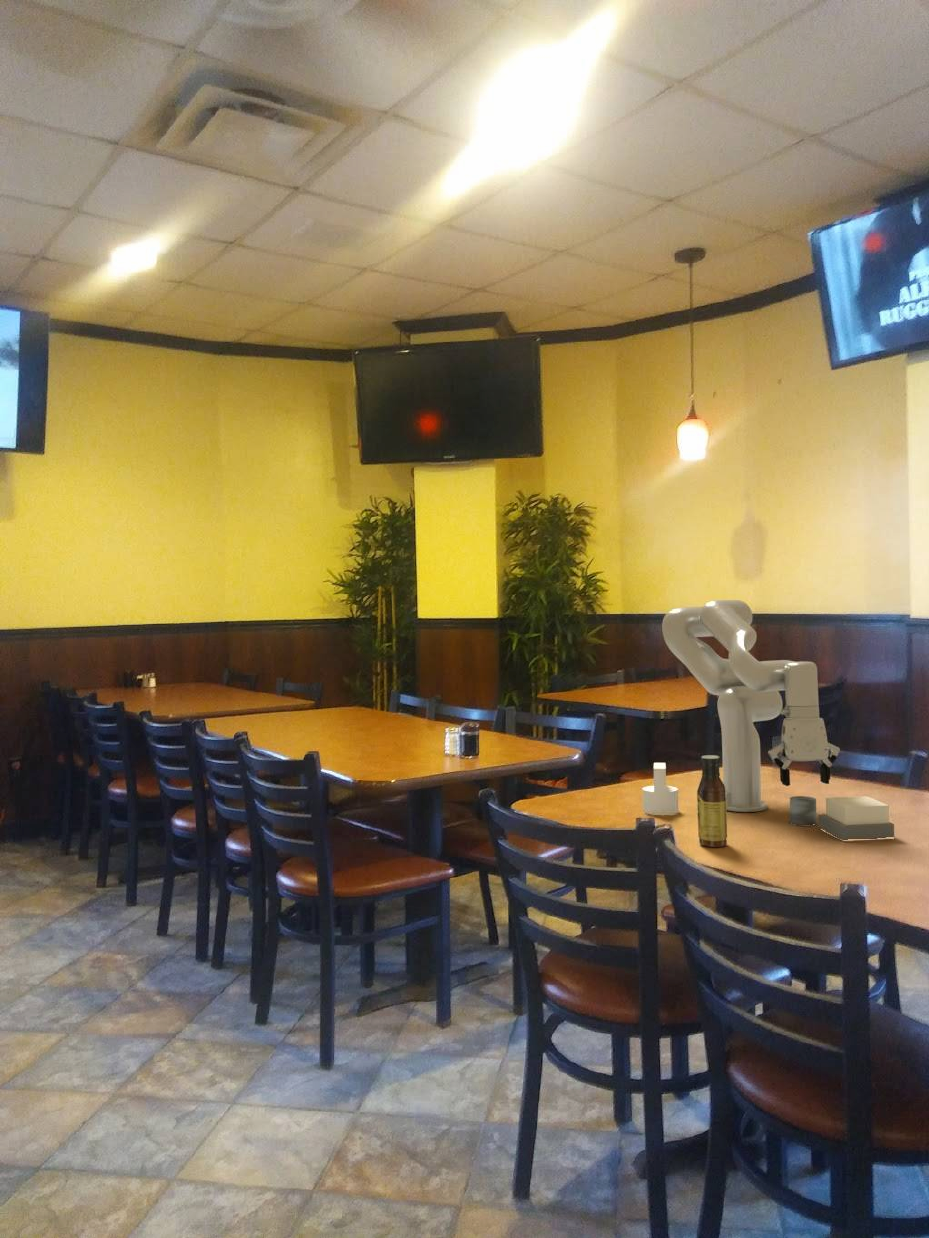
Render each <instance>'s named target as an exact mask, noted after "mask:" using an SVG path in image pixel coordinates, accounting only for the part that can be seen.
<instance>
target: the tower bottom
mask: <svg viewBox="0 0 929 1238" xmlns="http://www.w3.org/2000/svg"><path fill="white" fill-rule="evenodd" d="M817 818H818V819H817V820H818V822H817V823H818V830H819V829H823V830H825V831H826V832H828V833H830V834H832V835H833V836H835V837H837V838H839V839H842V840H848V839H877V838H886V837H894V838H895V824H894V823H892V822H890V821H889V823H882V824H856V825H845V824H843V823H841V822H839V821H837V820H835V819H833V818H831V817H829V816H827V815H826V813H818V814H817Z"/></svg>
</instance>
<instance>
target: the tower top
mask: <svg viewBox="0 0 929 1238" xmlns="http://www.w3.org/2000/svg"><path fill="white" fill-rule="evenodd" d="M889 809H890V807H889V805H888V804H886V803H884V802H882V801H879V800H877V799H875V798H872V797H869V796H863V795H862V796H842V797H839V796H838V797H836V796H835V797H825V814H826V815H827V816H829V817H831V818H833V819H835V820H837V821H839V822H841V823H843V824H845V825H856V824H882V823H889V822H890V810H889Z"/></svg>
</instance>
